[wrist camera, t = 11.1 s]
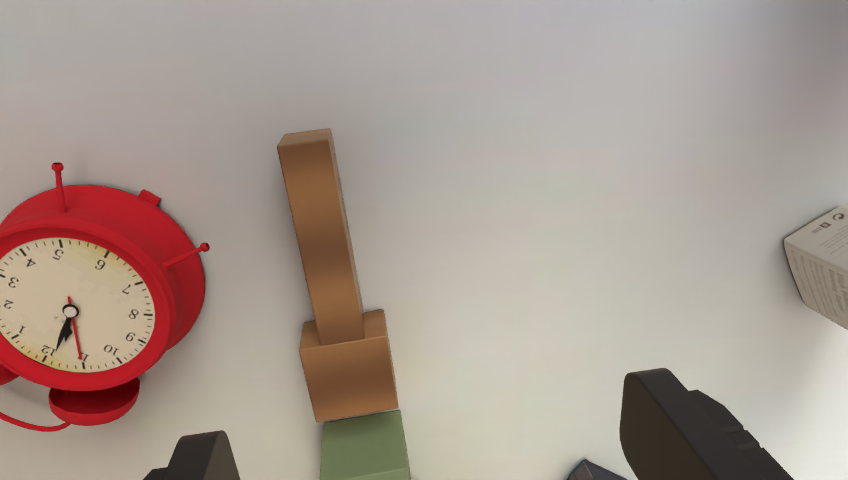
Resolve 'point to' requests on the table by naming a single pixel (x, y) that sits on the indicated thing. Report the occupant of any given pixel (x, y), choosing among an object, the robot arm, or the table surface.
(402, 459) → the block
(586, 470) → the vhs cassette tape
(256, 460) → the table surface
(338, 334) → the wooden stamp
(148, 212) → the alarm clock
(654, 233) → the table surface
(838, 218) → the cosmetic box
